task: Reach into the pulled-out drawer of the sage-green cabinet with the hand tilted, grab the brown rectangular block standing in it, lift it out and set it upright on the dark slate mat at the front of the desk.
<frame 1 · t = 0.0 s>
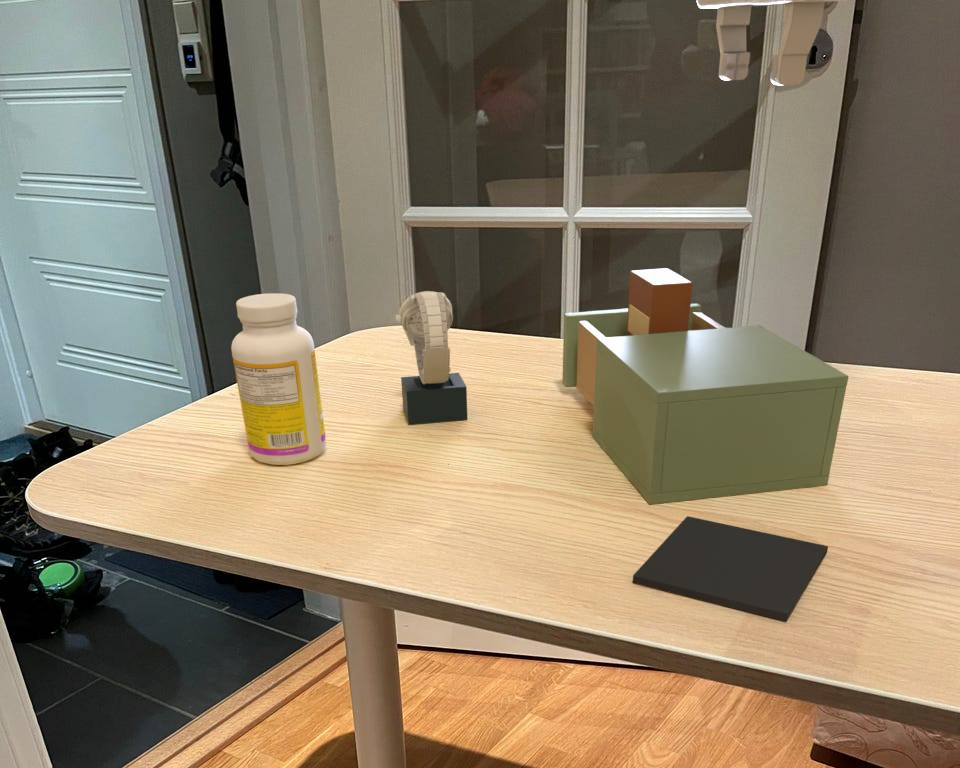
hand: (757, 82, 68), 27 cm above the table, tool pointing down, fingers open, 8 cm apart
brown rectangular block: (651, 389, 87), point 2 cm above the table, touching drawer
supplement bottle: (288, 455, 81), on the table
slate mat: (731, 568, 62), on the table
watch: (434, 416, 88), on the table
cabinet: (702, 459, 78), on the table
drawer: (645, 357, 88), point 4 cm above the table, slide at 11.0 cm, touching brown rectangular block
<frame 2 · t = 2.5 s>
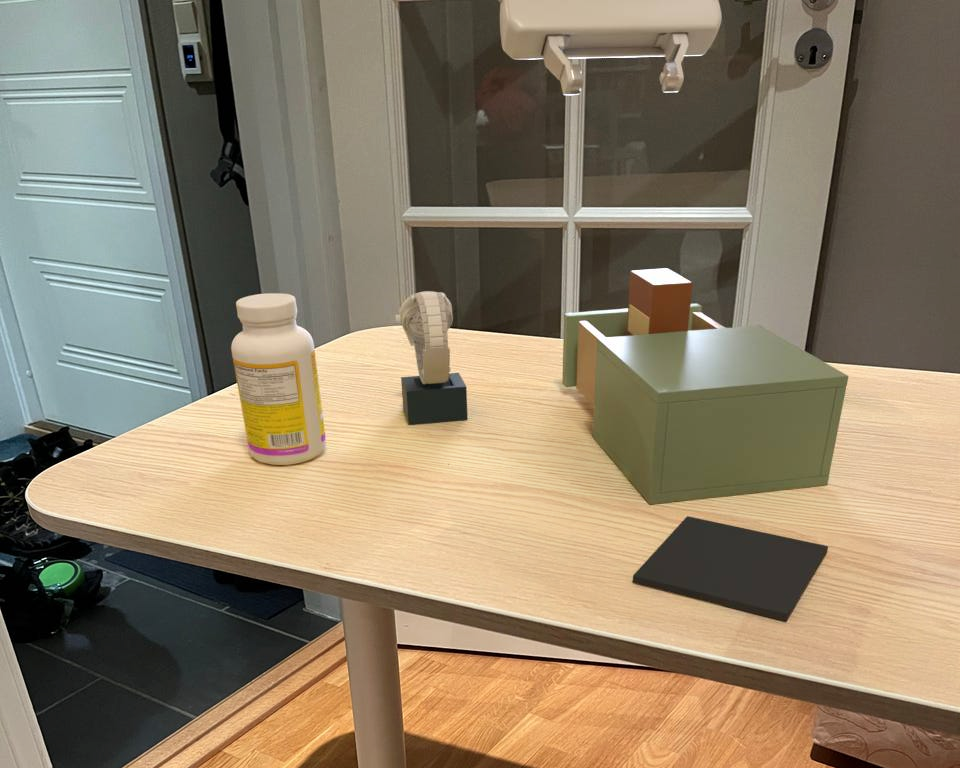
hand: (624, 88, 84), 26 cm above the table, tool tilted 45°, fingers open, 8 cm apart
nothing on the table moved.
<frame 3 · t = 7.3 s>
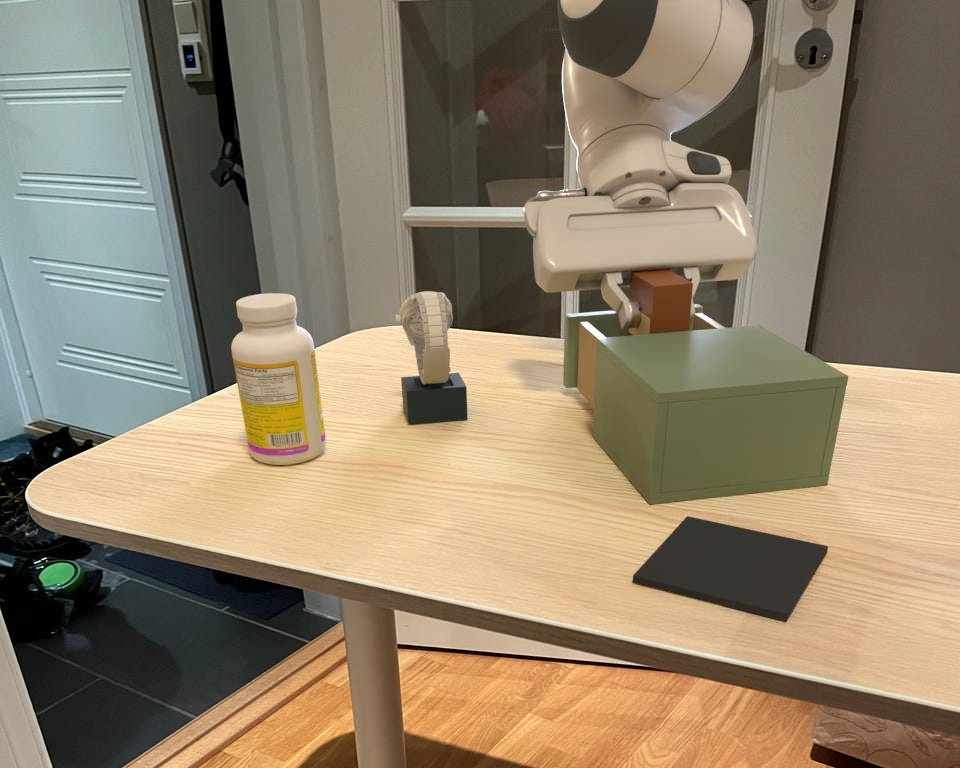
hand: (658, 323, 83), 8 cm above the table, tool tilted 45°, fingers closed on brown rectangular block, 4 cm apart
brown rectangular block: (653, 389, 87), point 2 cm above the table, touching drawer, gripper
drawer: (646, 358, 87), point 4 cm above the table, slide at 10.7 cm, touching brown rectangular block
everything else where it was.
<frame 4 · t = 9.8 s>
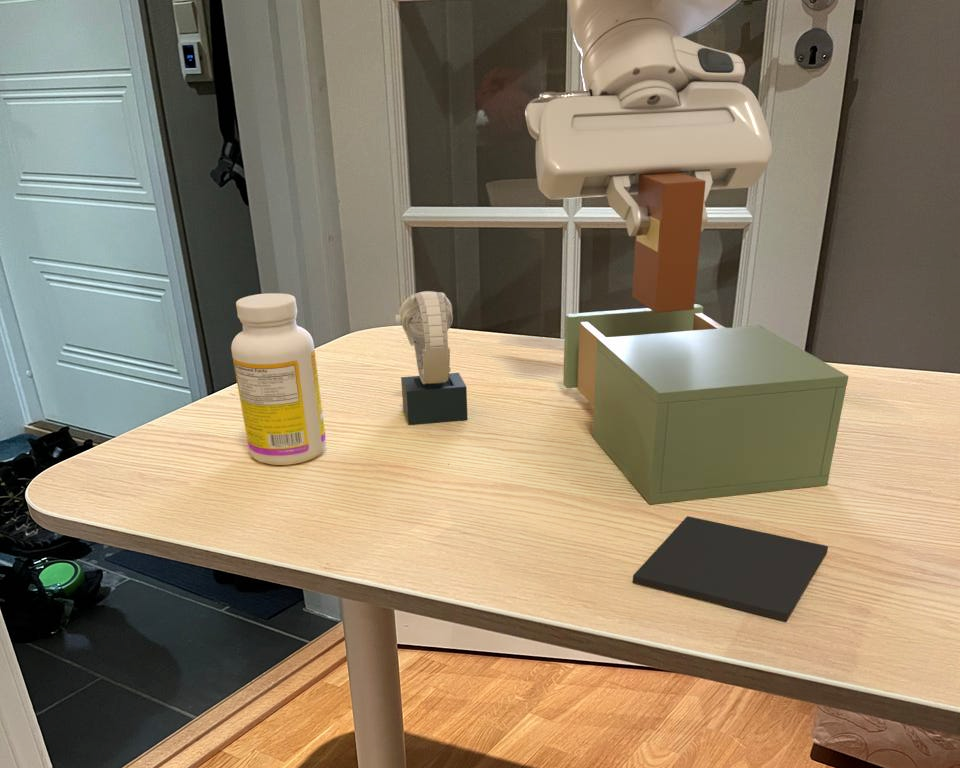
hand: (668, 229, 79), 16 cm above the table, tool tilted 45°, fingers closed on brown rectangular block, 4 cm apart
brown rectangular block: (662, 303, 82), point 10 cm above the table, touching gripper
drawer: (646, 358, 87), point 4 cm above the table, slide at 10.7 cm
everything else where it was.
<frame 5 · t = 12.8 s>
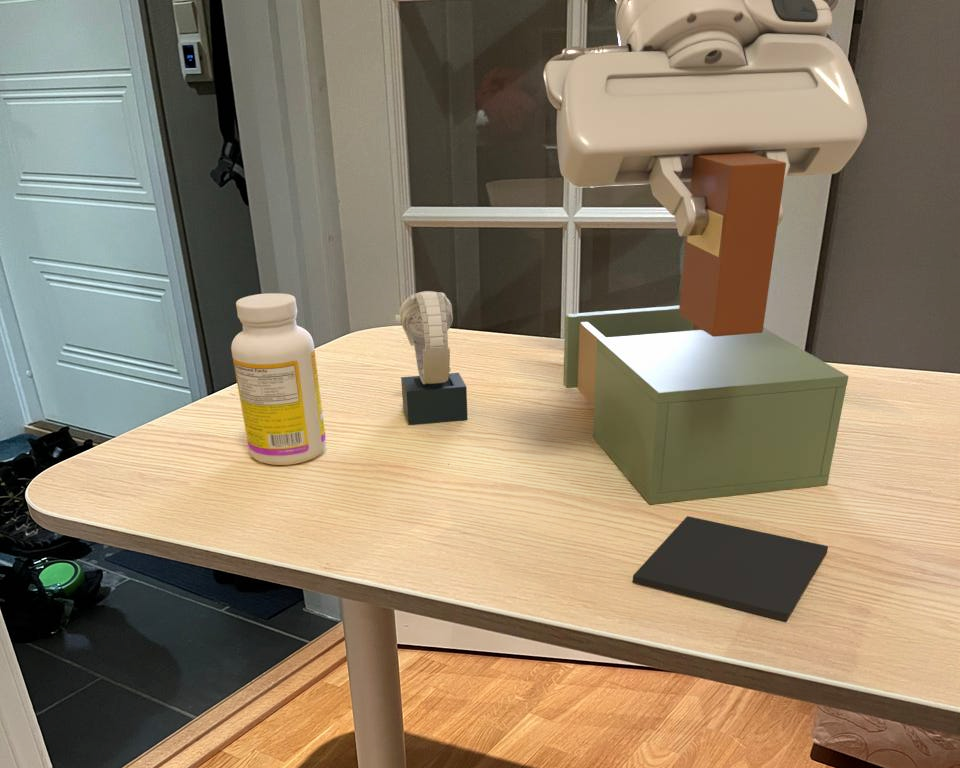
hand: (732, 228, 60), 19 cm above the table, tool tilted 45°, fingers closed on brown rectangular block, 4 cm apart
brown rectangular block: (719, 323, 63), point 13 cm above the table, touching gripper
everything else where it was.
when the fingers open (7 cm above the table, at t = 17.9 s): brown rectangular block stays where it is, resting on slate mat.
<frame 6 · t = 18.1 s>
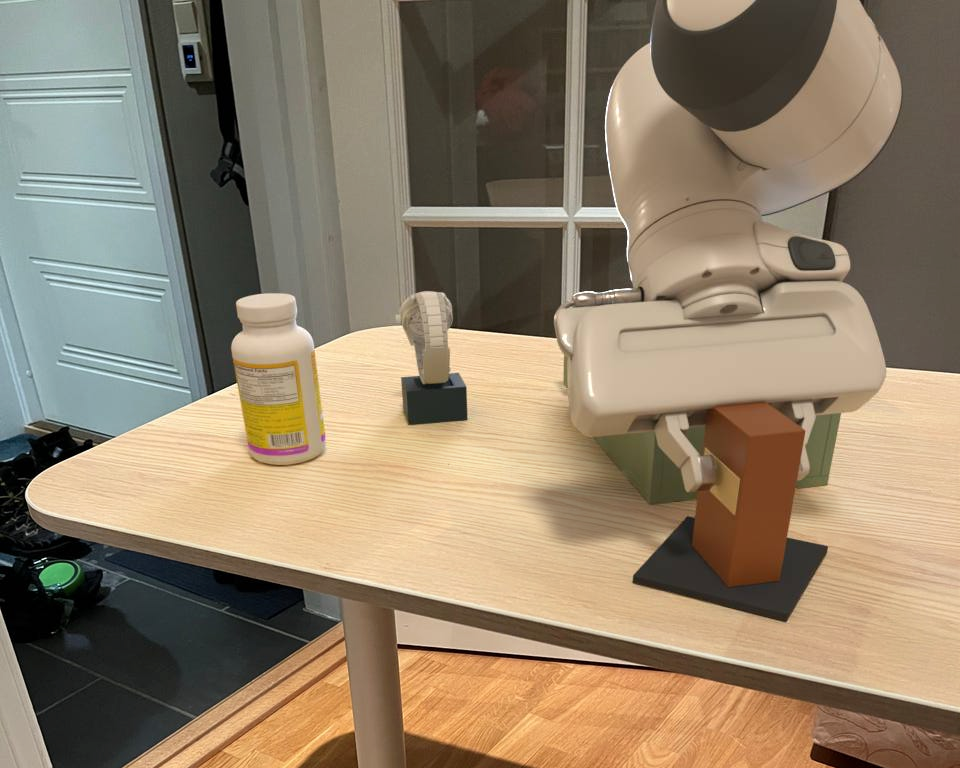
hand: (748, 483, 58), 6 cm above the table, tool tilted 45°, fingers open, 5 cm apart
brown rectangular block: (734, 562, 61), point 1 cm above the table, touching slate mat
everything else where it was.
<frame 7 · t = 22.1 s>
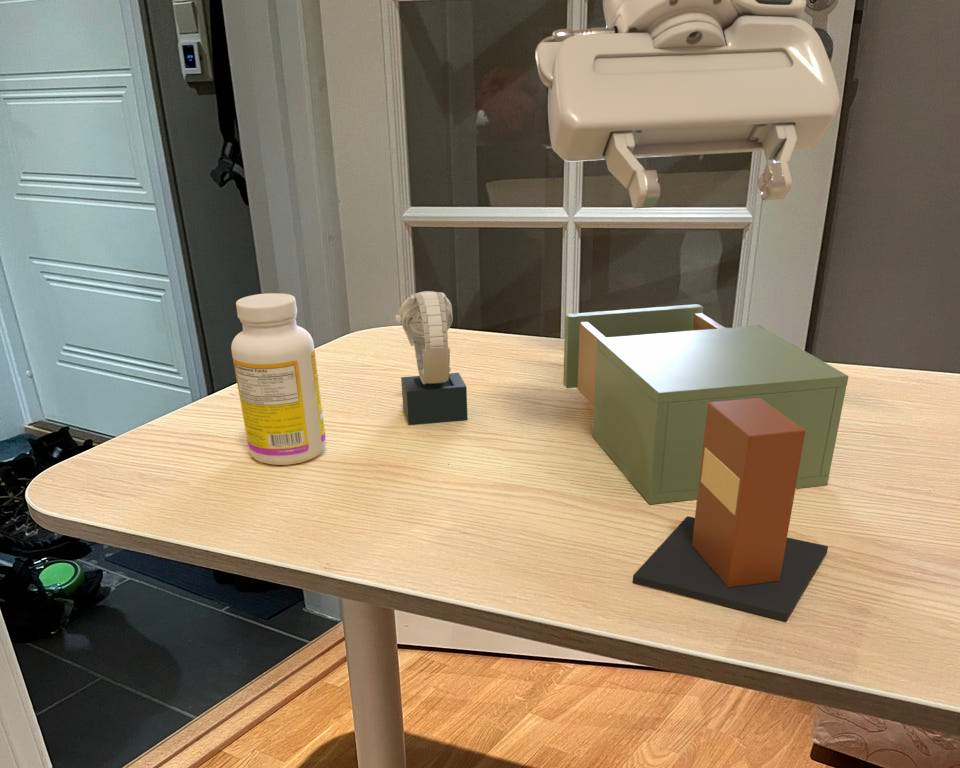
hand: (713, 198, 64), 20 cm above the table, tool tilted 45°, fingers open, 8 cm apart
nothing on the table moved.
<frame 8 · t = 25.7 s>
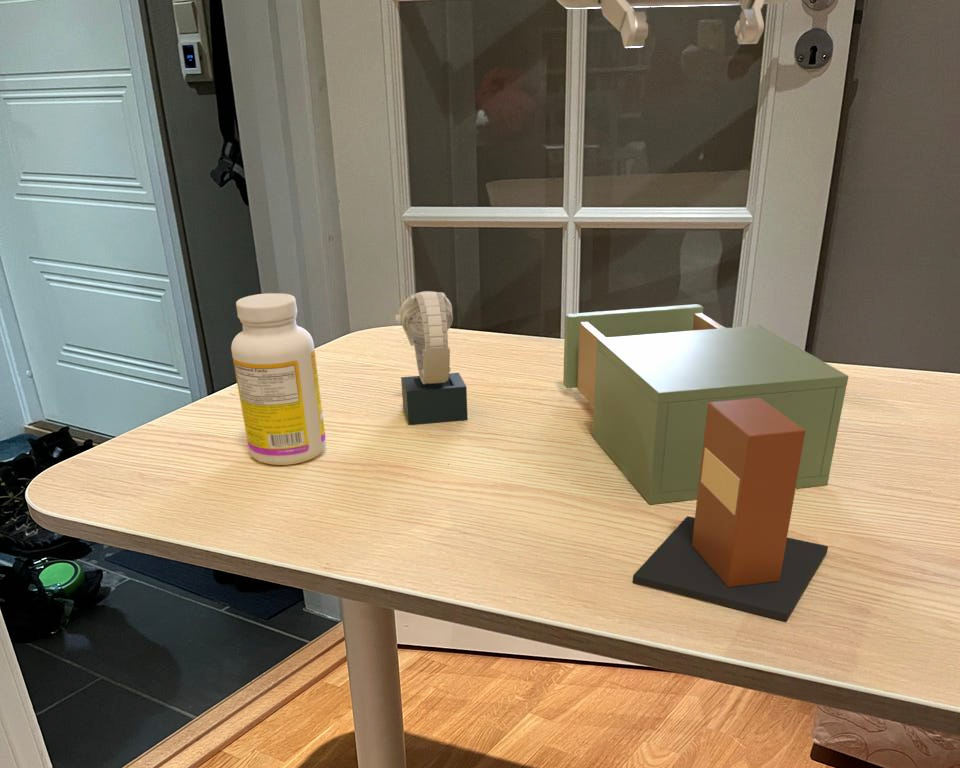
hand: (694, 39, 72), 29 cm above the table, tool tilted 45°, fingers open, 8 cm apart
nothing on the table moved.
at the end: brown rectangular block inside the target area on the slate mat (0.4 cm from its centre), point 0.6 cm above the slate mat's base; brown rectangular block tilted 0°; the gripper is holding nothing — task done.
